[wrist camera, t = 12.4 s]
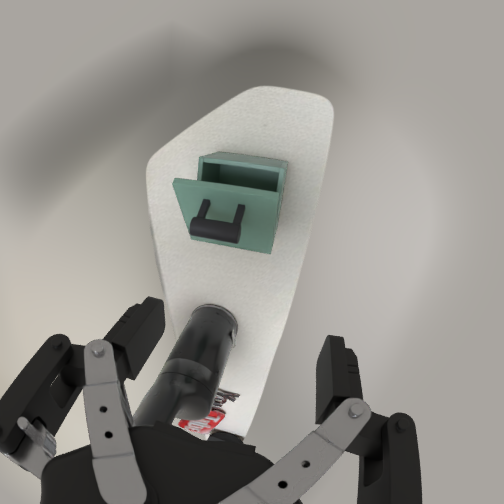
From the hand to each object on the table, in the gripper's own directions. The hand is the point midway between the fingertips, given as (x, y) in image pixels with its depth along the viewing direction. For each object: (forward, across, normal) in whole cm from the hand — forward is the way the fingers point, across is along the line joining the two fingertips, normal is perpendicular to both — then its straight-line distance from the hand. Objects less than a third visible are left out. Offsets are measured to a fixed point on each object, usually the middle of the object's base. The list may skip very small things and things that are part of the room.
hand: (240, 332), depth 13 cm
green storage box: (+30, +5, 0) cm, 31 cm away
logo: (+26, +13, +57) cm, 64 cm away
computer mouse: (+26, +3, +75) cm, 79 cm away
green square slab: (+18, +5, +1) cm, 19 cm away
